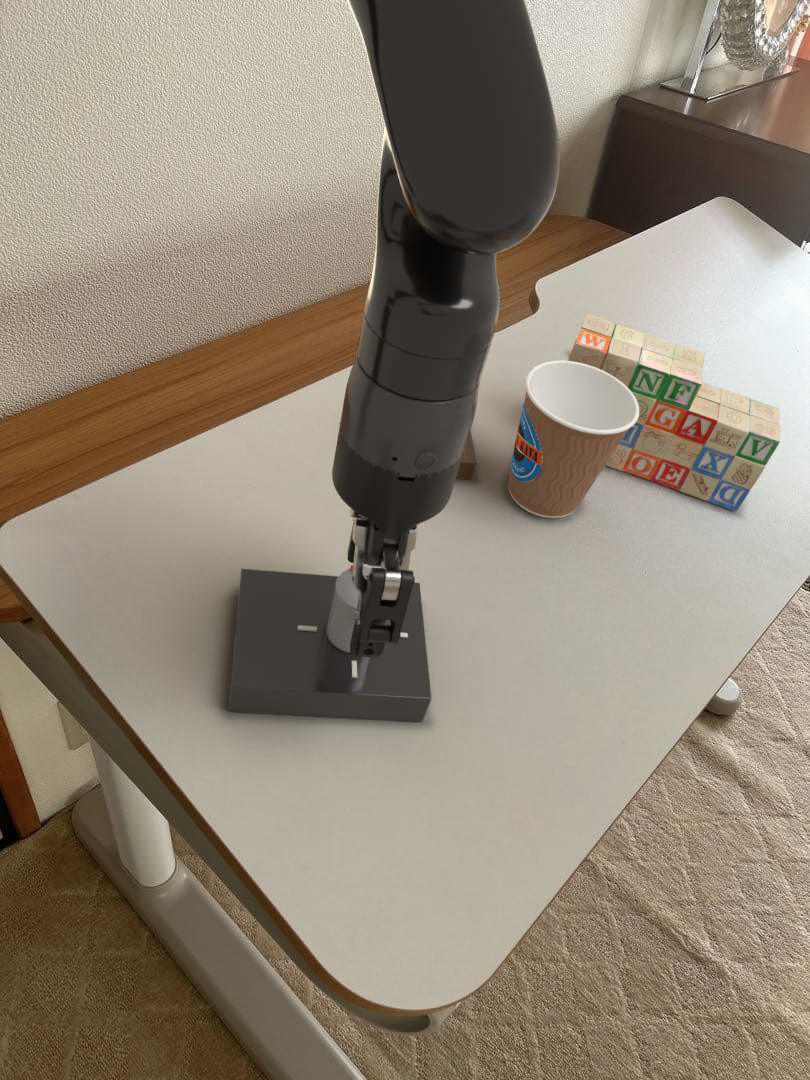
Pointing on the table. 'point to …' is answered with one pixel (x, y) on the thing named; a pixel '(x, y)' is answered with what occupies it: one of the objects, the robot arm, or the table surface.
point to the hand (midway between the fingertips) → (363, 604)
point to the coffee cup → (566, 435)
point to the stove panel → (320, 655)
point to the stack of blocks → (681, 416)
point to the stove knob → (343, 610)
